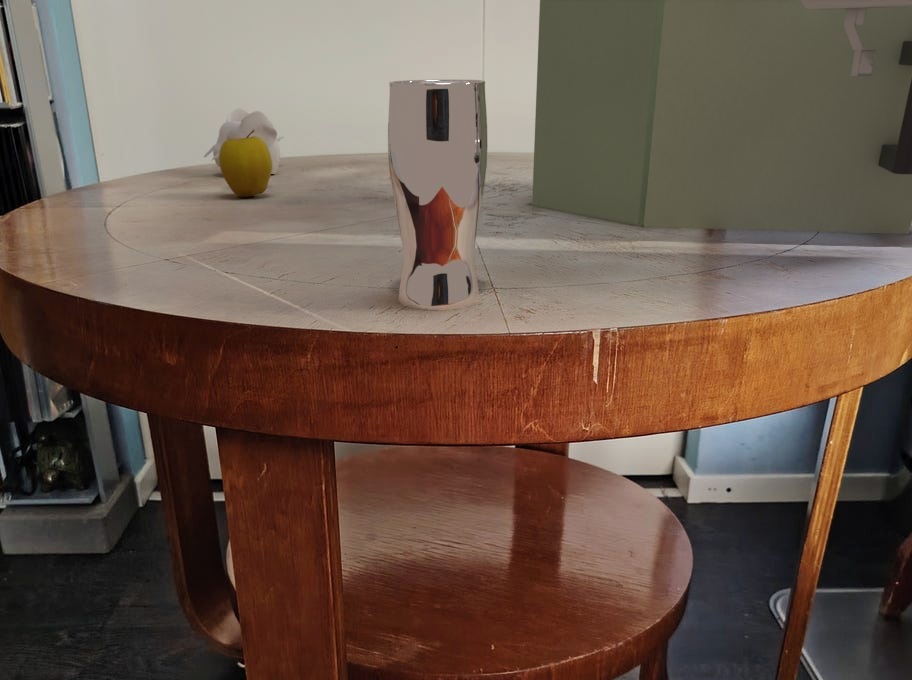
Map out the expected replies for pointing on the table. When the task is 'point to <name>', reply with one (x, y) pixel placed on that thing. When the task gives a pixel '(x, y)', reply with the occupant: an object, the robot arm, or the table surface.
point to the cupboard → (596, 106)
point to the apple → (246, 165)
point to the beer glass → (438, 187)
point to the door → (780, 120)
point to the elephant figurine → (242, 126)
